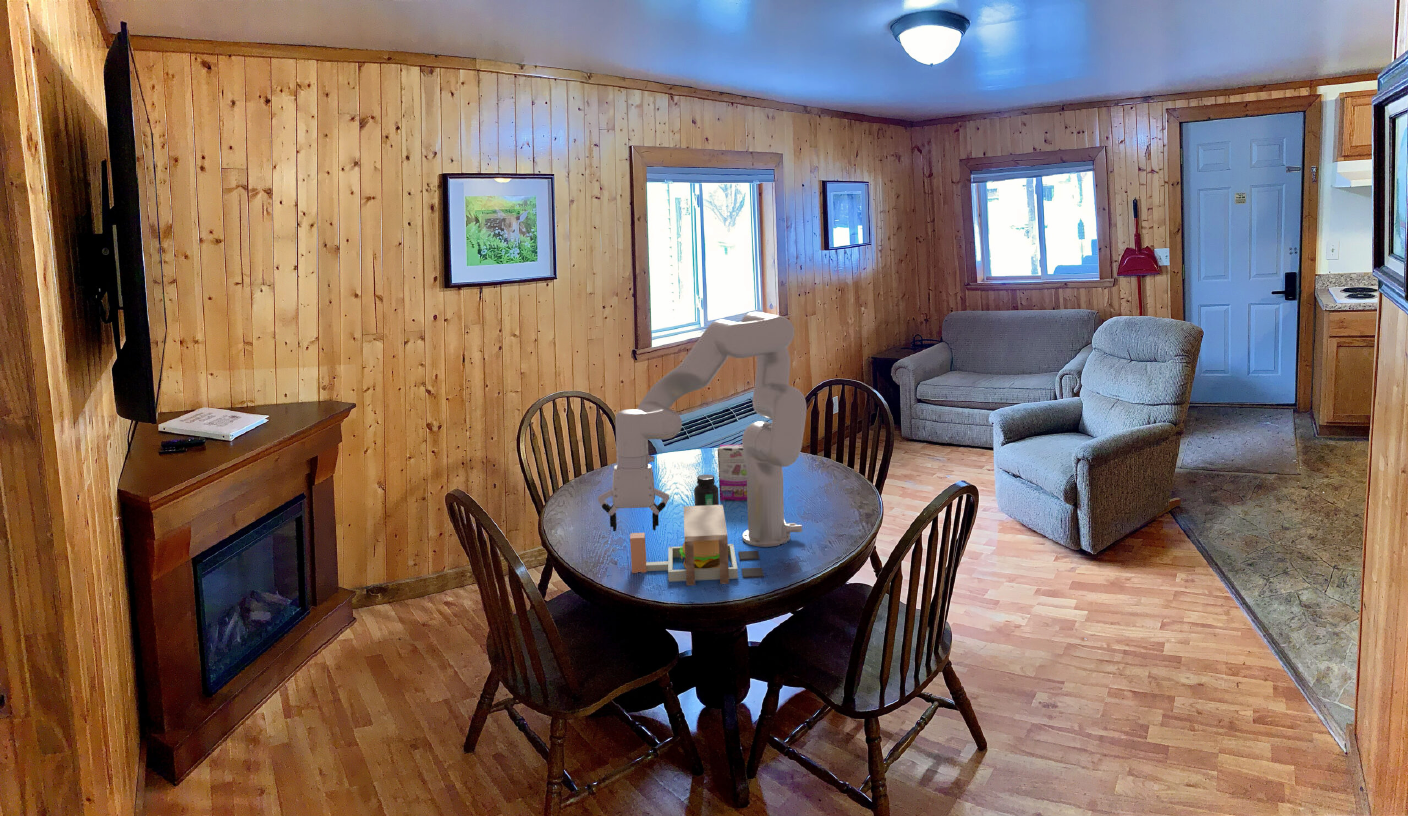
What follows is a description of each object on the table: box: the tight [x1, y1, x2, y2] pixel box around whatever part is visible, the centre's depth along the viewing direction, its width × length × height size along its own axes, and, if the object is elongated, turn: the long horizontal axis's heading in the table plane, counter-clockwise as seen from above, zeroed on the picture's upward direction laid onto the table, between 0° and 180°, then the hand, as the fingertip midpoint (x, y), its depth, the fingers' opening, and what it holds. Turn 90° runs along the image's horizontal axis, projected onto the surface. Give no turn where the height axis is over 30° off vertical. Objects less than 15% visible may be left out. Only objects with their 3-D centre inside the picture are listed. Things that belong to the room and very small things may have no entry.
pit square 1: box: [738, 550, 761, 561], centre depth 237 cm, size 5×5×1 cm
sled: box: [629, 532, 739, 583], centre depth 231 cm, size 26×16×9 cm, turn 92°
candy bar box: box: [717, 444, 747, 502], centre depth 280 cm, size 11×5×16 cm, turn 80°
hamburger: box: [679, 540, 720, 569], centre depth 231 cm, size 12×12×9 cm
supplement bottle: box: [693, 474, 720, 506], centre depth 265 cm, size 7×7×12 cm
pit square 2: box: [741, 566, 765, 579], centre depth 227 cm, size 5×5×1 cm
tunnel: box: [683, 504, 730, 586], centre depth 230 cm, size 10×22×12 cm, turn 2°
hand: (634, 529), depth 229 cm, fingers open, 9 cm apart
